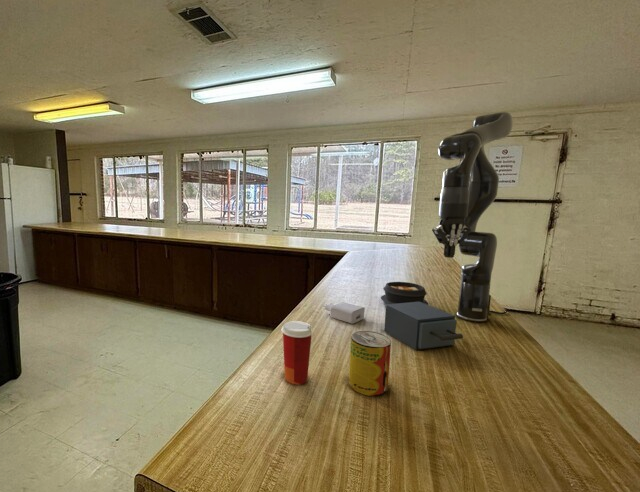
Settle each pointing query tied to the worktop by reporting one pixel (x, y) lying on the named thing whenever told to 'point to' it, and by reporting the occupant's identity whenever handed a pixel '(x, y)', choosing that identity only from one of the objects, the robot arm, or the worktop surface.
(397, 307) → the cabinet
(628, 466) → the worktop surface
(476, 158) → the robot arm
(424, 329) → the drawer
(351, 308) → the charger
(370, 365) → the food can
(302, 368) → the paper cup
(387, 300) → the casserole
